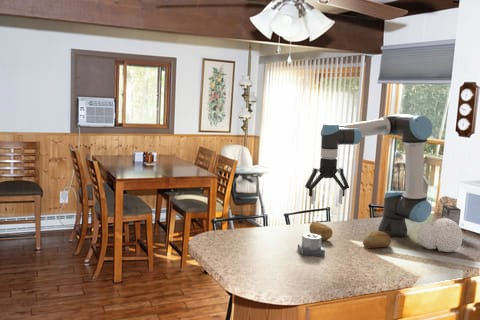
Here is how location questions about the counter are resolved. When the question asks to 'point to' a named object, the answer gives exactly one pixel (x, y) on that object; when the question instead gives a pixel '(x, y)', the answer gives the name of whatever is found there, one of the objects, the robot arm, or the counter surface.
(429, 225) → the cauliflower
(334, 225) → the counter surface
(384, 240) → the bread roll
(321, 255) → the pillow block
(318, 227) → the potato
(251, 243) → the counter surface
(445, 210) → the coffee box
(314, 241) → the hub
